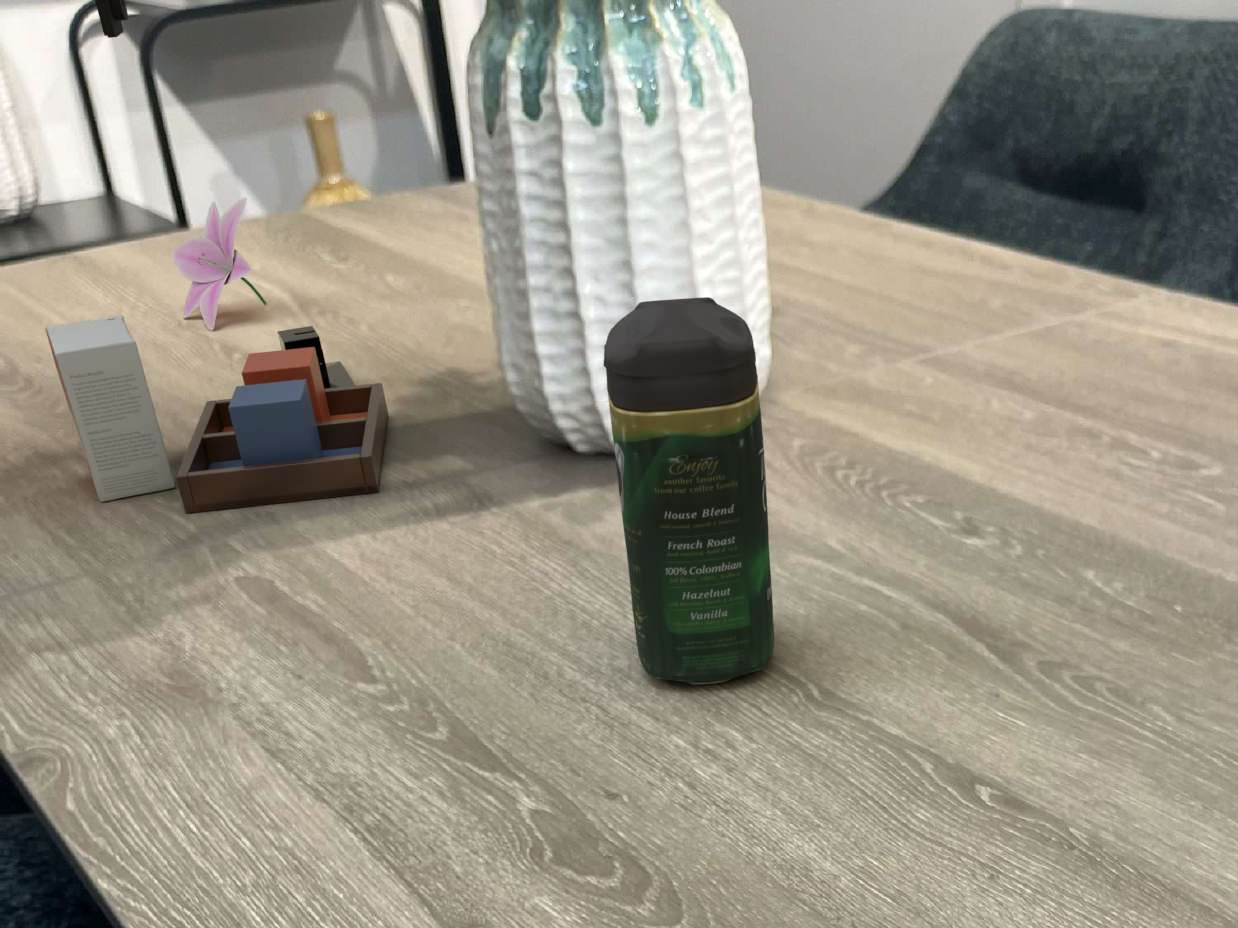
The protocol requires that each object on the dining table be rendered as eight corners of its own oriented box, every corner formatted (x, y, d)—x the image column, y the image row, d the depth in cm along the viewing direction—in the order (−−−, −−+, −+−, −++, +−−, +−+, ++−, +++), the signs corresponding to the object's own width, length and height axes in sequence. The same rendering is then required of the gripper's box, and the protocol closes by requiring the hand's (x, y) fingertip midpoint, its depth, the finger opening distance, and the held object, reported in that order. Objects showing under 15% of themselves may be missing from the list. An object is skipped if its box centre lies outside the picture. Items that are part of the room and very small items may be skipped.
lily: (192, 311, 170) (128, 232, 162) (291, 248, 169) (232, 164, 161) (216, 379, 164) (151, 300, 156) (320, 314, 163) (260, 231, 154)
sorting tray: (185, 513, 121) (175, 477, 120) (215, 434, 135) (206, 400, 134) (378, 492, 122) (371, 455, 121) (388, 416, 136) (382, 382, 135)
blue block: (248, 485, 123) (227, 407, 119) (255, 462, 127) (236, 386, 123) (318, 477, 123) (300, 399, 120) (323, 455, 127) (306, 378, 124)
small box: (88, 471, 130) (43, 325, 123) (163, 457, 131) (122, 312, 125) (99, 503, 124) (51, 352, 118) (177, 488, 126) (135, 338, 119)
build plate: (366, 405, 139) (354, 345, 136) (276, 421, 137) (261, 361, 134) (340, 364, 148) (328, 308, 145) (255, 379, 147) (241, 322, 144)
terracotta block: (259, 447, 129) (241, 372, 126) (266, 426, 133) (248, 353, 130) (326, 440, 130) (309, 365, 126) (331, 419, 134) (314, 346, 130)
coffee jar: (783, 683, 94) (759, 329, 83) (640, 696, 94) (595, 343, 82) (771, 612, 102) (747, 278, 90) (638, 624, 101) (597, 291, 90)
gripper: (105, -300, 105) (181, 22, 116) (-185, -281, 104) (-82, 44, 115) (83, -302, 99) (165, 37, 110) (-225, -282, 98) (-112, 60, 109)
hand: (39, 40), depth 112 cm, fingers open, 9 cm apart
